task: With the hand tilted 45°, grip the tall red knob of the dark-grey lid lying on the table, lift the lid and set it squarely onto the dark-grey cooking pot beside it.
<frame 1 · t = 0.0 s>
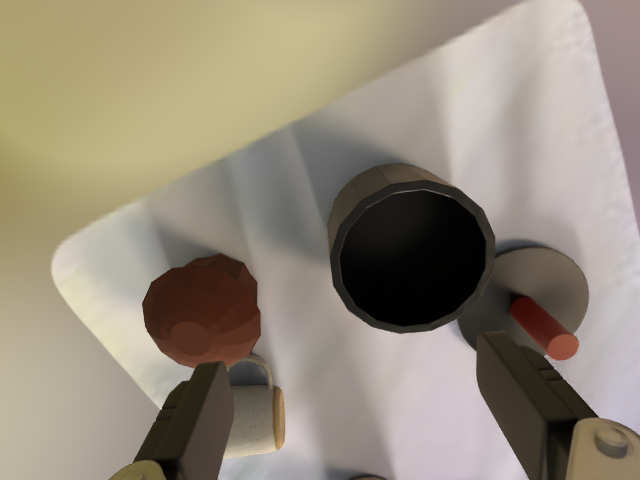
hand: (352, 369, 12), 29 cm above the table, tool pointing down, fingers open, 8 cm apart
muffin: (219, 288, 44), on the table
lid: (520, 305, 44), point 1 cm above the table
pot: (391, 227, 41), on the table
ceramic mug: (250, 387, 48), on the table
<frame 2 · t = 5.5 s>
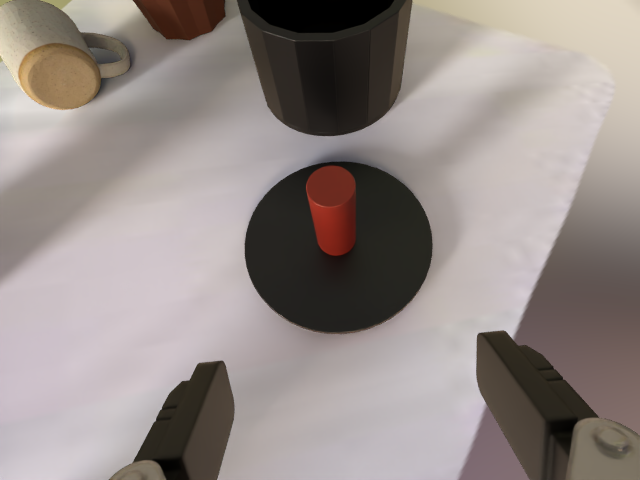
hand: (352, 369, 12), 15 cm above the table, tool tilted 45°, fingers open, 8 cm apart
muffin: (190, 16, 45), on the table
lid: (336, 241, 30), point 1 cm above the table
pot: (331, 82, 38), on the table
ceramic mug: (87, 81, 42), on the table
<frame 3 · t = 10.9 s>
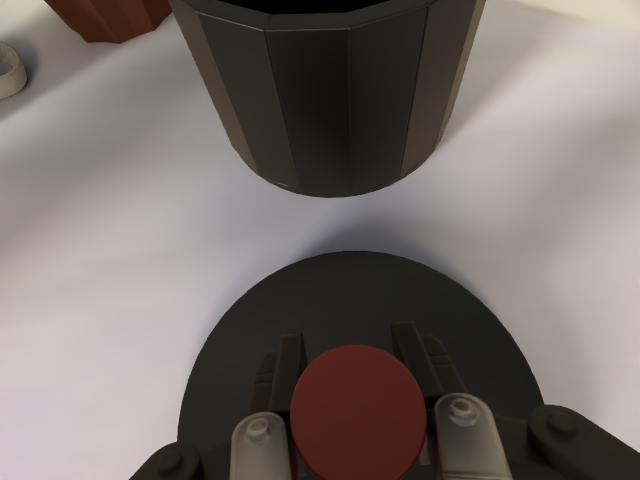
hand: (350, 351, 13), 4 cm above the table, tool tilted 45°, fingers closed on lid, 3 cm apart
muffin: (126, 9, 31), on the table
lid: (356, 418, 16), point 1 cm above the table, touching gripper
pot: (335, 105, 24), on the table
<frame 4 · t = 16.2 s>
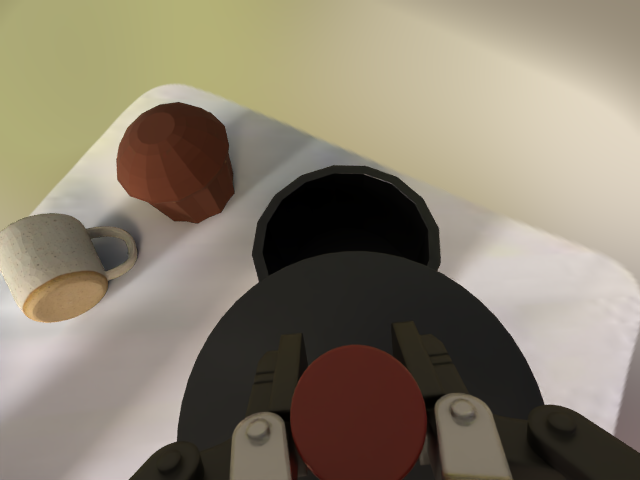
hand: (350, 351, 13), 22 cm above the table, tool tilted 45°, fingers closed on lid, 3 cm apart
muffin: (198, 190, 44), on the table
lid: (356, 419, 16), point 18 cm above the table, touching gripper
pot: (347, 285, 37), on the table
ceramic mug: (92, 273, 40), on the table
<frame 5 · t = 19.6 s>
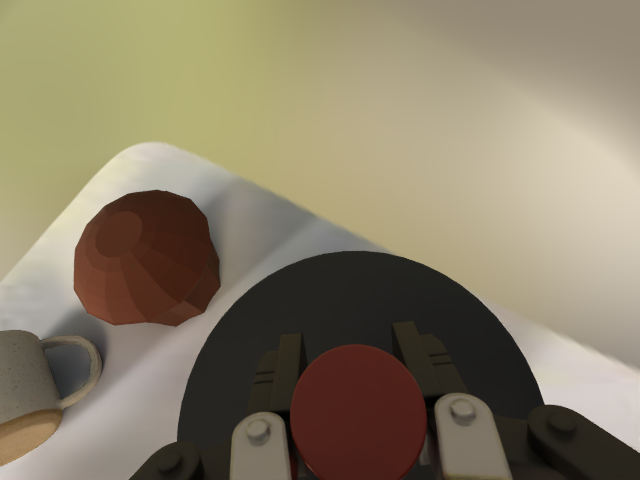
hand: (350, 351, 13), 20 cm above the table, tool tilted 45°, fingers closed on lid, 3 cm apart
muffin: (177, 281, 37), on the table
lid: (356, 418, 16), point 16 cm above the table, touching gripper
ceramic mug: (48, 389, 33), on the table
when the fingers open (14 cm above the table, at t = 22.0 s): lid stays where it is, resting on pot.
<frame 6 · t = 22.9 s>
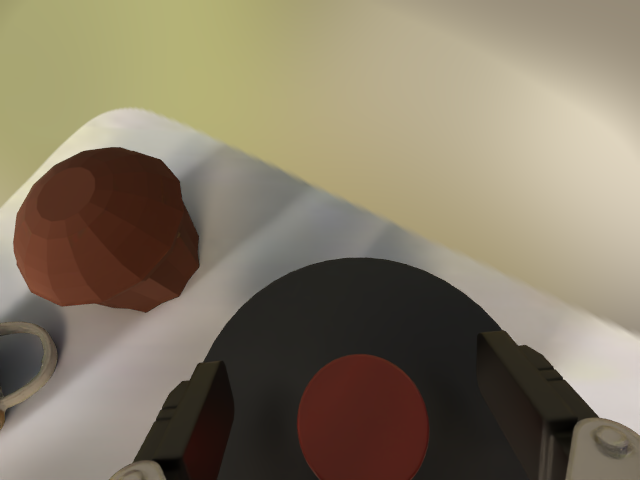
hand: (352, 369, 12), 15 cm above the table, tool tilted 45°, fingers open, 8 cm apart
muffin: (150, 260, 32), on the table
lid: (359, 423, 16), point 10 cm above the table, touching pot
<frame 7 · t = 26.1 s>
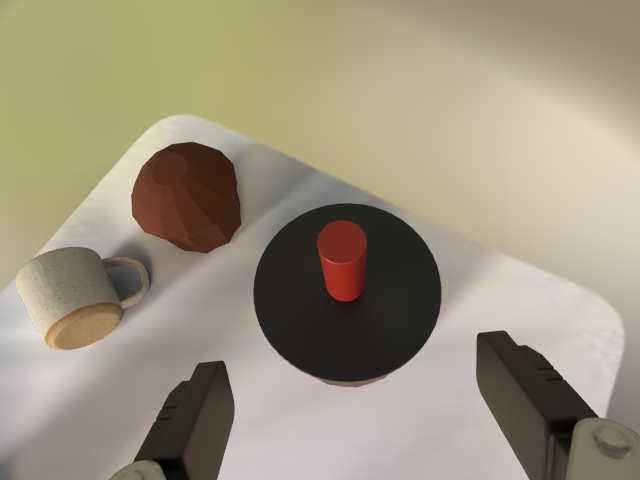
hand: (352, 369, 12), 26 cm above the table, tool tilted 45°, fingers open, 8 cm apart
muffin: (206, 220, 46), on the table
lid: (345, 285, 30), point 10 cm above the table, touching pot
ceramic mug: (107, 300, 43), on the table
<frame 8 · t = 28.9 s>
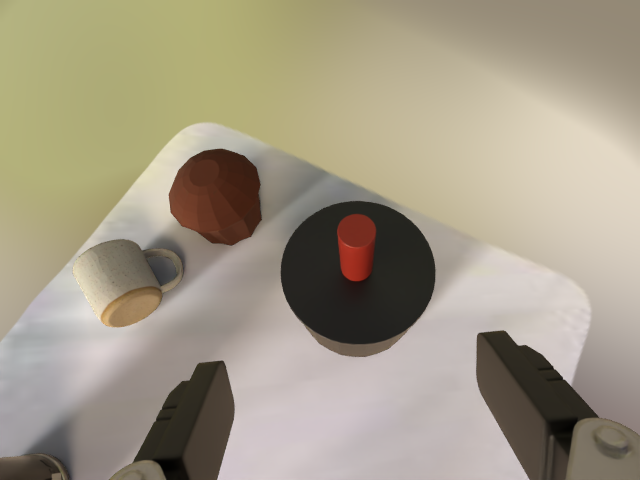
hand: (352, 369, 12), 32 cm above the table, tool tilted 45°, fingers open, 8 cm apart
muffin: (230, 216, 52), on the table
lid: (356, 268, 37), point 10 cm above the table, touching pot
pot: (356, 298, 46), on the table
ceramic mug: (146, 286, 49), on the table
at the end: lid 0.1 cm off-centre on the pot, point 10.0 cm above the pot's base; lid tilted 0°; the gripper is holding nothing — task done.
